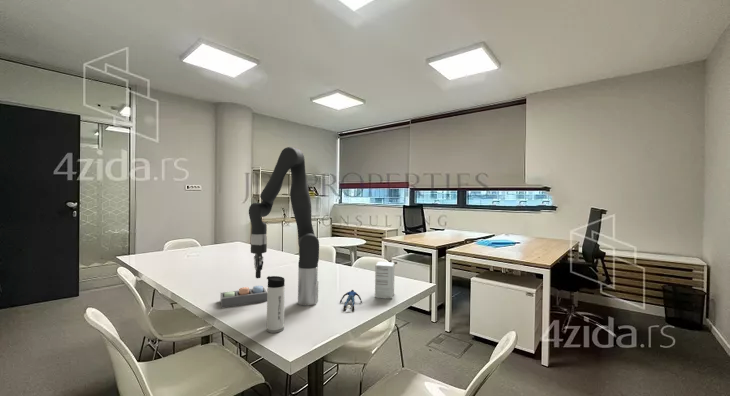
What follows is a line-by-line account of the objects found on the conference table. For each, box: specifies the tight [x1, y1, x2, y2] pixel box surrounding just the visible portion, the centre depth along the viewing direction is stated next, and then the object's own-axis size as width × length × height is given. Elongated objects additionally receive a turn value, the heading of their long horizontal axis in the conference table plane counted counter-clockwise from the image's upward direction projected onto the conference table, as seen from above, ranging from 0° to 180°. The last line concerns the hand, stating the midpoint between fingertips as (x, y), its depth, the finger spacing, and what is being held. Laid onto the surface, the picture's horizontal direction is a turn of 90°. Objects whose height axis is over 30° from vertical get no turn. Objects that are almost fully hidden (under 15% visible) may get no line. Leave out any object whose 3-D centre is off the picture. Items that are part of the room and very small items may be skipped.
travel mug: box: [266, 275, 286, 334], centre depth 111 cm, size 6×7×20 cm
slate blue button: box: [252, 285, 264, 293], centre depth 144 cm, size 5×5×4 cm
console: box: [219, 286, 267, 309], centre depth 141 cm, size 20×10×4 cm, turn 119°
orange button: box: [238, 286, 250, 295], centre depth 141 cm, size 5×5×4 cm
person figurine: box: [339, 289, 363, 312], centre depth 139 cm, size 11×4×18 cm
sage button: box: [224, 291, 235, 297], centre depth 138 cm, size 5×5×4 cm
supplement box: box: [374, 261, 396, 299], centre depth 153 cm, size 10×9×17 cm
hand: (258, 277), depth 144 cm, fingers closed
